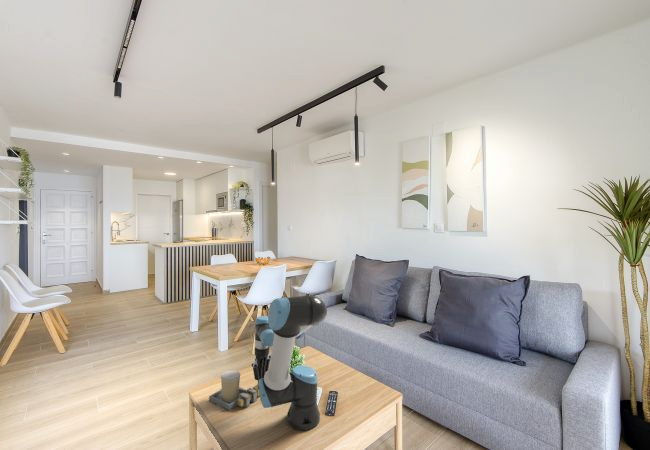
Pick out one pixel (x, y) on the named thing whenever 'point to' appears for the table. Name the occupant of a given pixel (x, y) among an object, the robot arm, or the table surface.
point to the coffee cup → (230, 385)
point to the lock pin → (243, 400)
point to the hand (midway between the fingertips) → (261, 390)
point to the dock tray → (217, 400)
